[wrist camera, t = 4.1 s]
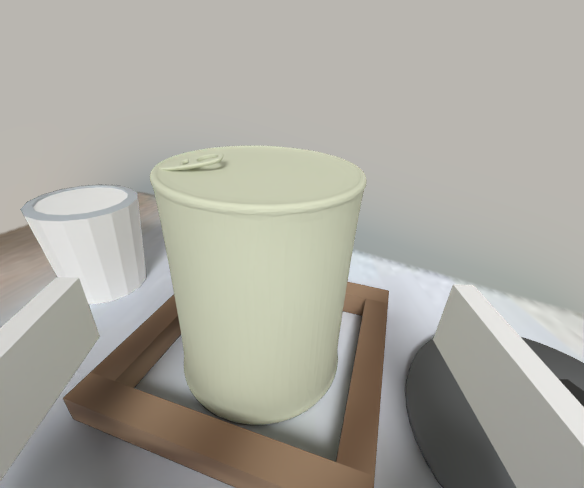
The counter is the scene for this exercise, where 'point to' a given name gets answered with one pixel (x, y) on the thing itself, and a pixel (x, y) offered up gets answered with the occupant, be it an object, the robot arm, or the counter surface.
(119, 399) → the pocket
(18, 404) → the robot arm
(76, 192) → the shot glass
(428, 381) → the mat
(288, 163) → the can
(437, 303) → the counter surface
